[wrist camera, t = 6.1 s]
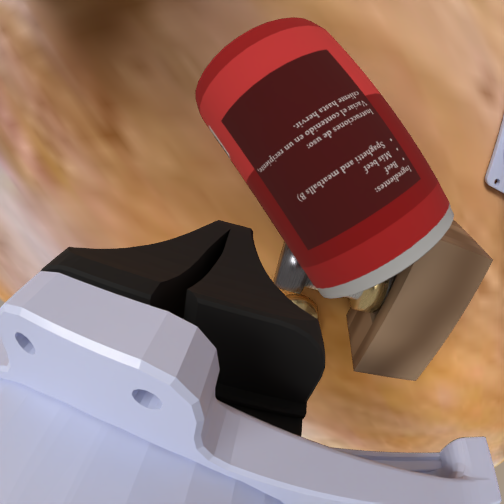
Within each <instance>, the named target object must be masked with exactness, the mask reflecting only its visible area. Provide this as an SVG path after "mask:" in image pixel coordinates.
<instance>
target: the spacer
mask: <svg viewBox="0 0 504 504" xmlns="http://www.w3.org/2000/svg"><path fill="white" fill-rule="evenodd" d="M286 297H288V298H289V299H290V300H291V301H292V302H293V303H295V304H296V305H297V306H298V307H300V308H301V309H303V310H304V311H306V312H307V313H309V314H310V315H312V316H314V317H315V318H317V319H318V310H317V307H316V305H315V303H314V302H313V301H312V300H311V299H310V298H308V297H306V296H303V295H299V294H291V295H286Z"/></svg>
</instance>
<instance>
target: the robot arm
mask: <svg viewBox="0 0 504 504" xmlns="http://www.w3.org/2000/svg"><path fill="white" fill-rule="evenodd" d="M496 179H497V183H496V184H495V183H494V182H495V180H496ZM485 182H486V183H487V184H488V185H489V186H491V187H493V188H495V189H497V190H499V191H500V192H502V193H504V116H503V120H502V124H501V128H500V131H499V135H498V138H497V142H496V145H495V148H494V152H493V155H492V158H491V161H490V164H489V167H488V170H487V173H486V176H485ZM324 369H325V349H324V342H323V338H322V333H321V329H320V325H319V321H318V319H317V318H315V317H314V316H312V315H310V314H309V313H307V312H306V311H304V310H303V309H301V308H300V307H298V306H297V305H296V304H295V303H293V302H292V301H291V300H290V299H289V298H288V297H286V296H285V295H284V294H283V293H282V292H281V291H280V290H279V288H278V287H277V286H276V285H275V284H274V283H273V281H272V280H271V279H270V278H269V276H268V275H267V273H266V271H265V270H264V268H263V266H262V264H261V261H260V259H259V257H258V254H257V251H256V248H255V245H254V240H253V231H252V229H251V228H247V227H243V226H239V225H235V224H232V223H228V222H224V221H220V220H218V221H215V222H213V223H211V224H209V225H206V226H204V227H202V228H200V229H197V230H195V231H193V232H190V233H187V234H185V235H182V236H179V237H177V238H174V239H171V240H167V241H164V242H159V243H155V244H151V245H144V246H137V247H130V248H118V249H89V248H74V247H68V248H67V249H66V250H65V251H63V252H62V253H61V254H60V255H58V256H57V257H56V258H55V259H53V260H52V261H51V262H50V263H49V264H47V265H46V266H45V267H44V268H43V269H42V270H41V271H40V272H39V273H38V274H36V275H35V276H34V277H33V278H32V279H31V280H30V281H28V282H27V283H26V284H25V285H24V286H23V287H22V288H21V289H19V290H18V291H17V292H16V293H15V294H14V295H13V296H12V297H11V298H10V299H9V300H7V301H6V302H5V303H4V304H3V306H2V307H1V308H0V504H499V503H500V502H501V495H500V490H499V486H498V482H497V478H496V474H495V469H494V466H493V462H492V458H491V454H490V451H489V447H488V444H487V441H486V437H483V436H482V437H462V438H458V439H456V440H453V441H452V442H450V443H449V444H447V445H446V446H445V447H444V448H443V449H442V450H441V452H436V453H401V452H377V451H362V450H351V449H341V448H332V447H328V446H325V445H322V444H319V443H317V442H314V441H311V440H308V439H306V438H303V437H301V432H302V419H304V417H305V415H306V408H307V400H308V399H309V397H310V396H311V394H312V392H313V391H314V389H315V387H316V386H317V384H318V382H319V381H320V379H321V377H322V374H323V371H324Z"/></svg>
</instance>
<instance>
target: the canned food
mask: <svg viewBox="0 0 504 504" xmlns="http://www.w3.org/2000/svg"><path fill="white" fill-rule="evenodd" d="M196 102H197V105H198V108H199V112H200V114H201V117H202V119H203V120H204V122H205V123H206V125H207V126H208V127H209V129H210V130H211V132H212V133H213V135H214V136H215V138H216V139H217V140H218V142H219V143H220V145H221V146H222V148H223V149H224V151H225V152H226V154H227V155H228V157H229V158H230V159H231V161H232V162H233V164H234V165H235V167H236V168H237V170H238V171H239V173H240V174H241V176H242V177H243V179H244V180H245V182H246V183H247V185H248V186H249V188H250V189H251V191H252V192H253V194H254V195H255V197H256V198H257V200H258V201H259V203H260V204H261V206H262V207H263V209H264V210H265V212H266V213H267V215H268V216H269V218H270V219H271V221H272V222H273V224H274V226H275V227H276V229H277V230H278V232H279V233H280V235H281V236H282V238H283V239H284V241H285V243H286V244H287V246H288V247H289V249H290V250H291V252H292V253H293V255H294V257H295V258H296V260H297V261H298V263H299V264H300V266H301V267H302V269H303V270H304V271H305V273H306V274H307V276H308V278H309V279H310V281H311V282H312V284H313V285H314V286H315V287H316V288H317V289H318V291H319V292H320V294H321V295H322V296H323V297H325V298H341V297H345V296H349V295H353V294H356V293H359V292H362V291H364V290H367V289H370V288H372V287H374V286H376V285H378V284H380V283H382V282H384V281H386V280H388V279H390V278H391V277H393V276H395V275H397V274H398V273H400V272H402V271H403V270H405V269H406V268H408V267H409V266H410V265H412V264H413V263H415V262H416V261H418V260H419V259H420V258H421V257H422V256H424V255H425V254H426V253H427V252H428V251H430V250H431V249H432V248H433V247H434V246H435V245H436V244H437V243H438V242H439V241H440V239H441V238H442V237H443V236H444V234H445V233H446V232H447V230H448V229H449V228H450V226H451V224H452V221H453V217H454V214H453V212H452V210H451V207H450V203H449V201H448V199H447V197H446V195H445V194H444V192H443V190H442V188H441V186H440V184H439V182H438V180H437V178H436V176H435V175H434V173H433V171H432V170H431V168H430V166H429V164H428V163H427V161H426V160H425V158H424V156H423V155H422V153H421V151H420V150H419V148H418V147H417V145H416V144H415V142H414V141H413V139H412V137H411V136H410V134H409V133H408V131H407V130H406V128H405V127H404V126H403V124H402V123H401V121H400V120H399V118H398V117H397V116H396V114H395V113H394V111H393V110H392V109H391V107H390V106H389V104H388V103H387V102H386V100H385V99H384V98H383V96H382V95H381V94H380V92H379V91H378V90H377V89H376V87H375V86H374V85H373V83H372V82H371V81H370V80H369V78H368V77H367V76H366V75H365V74H364V72H363V71H362V70H361V69H360V68H359V66H358V65H357V64H356V63H355V62H354V60H353V59H352V58H351V57H350V56H349V55H348V54H347V52H346V51H345V50H344V49H343V48H342V47H341V46H340V45H339V44H338V42H337V41H336V40H335V39H334V38H333V37H332V36H331V35H330V34H329V33H328V32H327V31H326V30H325V29H323V28H322V27H320V26H318V25H317V24H315V23H313V22H311V21H309V20H306V19H303V18H284V19H278V20H274V21H271V22H267V23H264V24H262V25H260V26H257V27H255V28H253V29H251V30H249V31H247V32H246V33H244V34H242V35H240V36H239V37H237V38H236V39H235V40H233V41H232V42H231V43H229V44H228V45H227V46H226V47H224V48H223V49H222V50H221V51H220V52H219V53H218V54H217V55H216V56H215V57H214V58H213V59H212V61H211V62H210V63H209V65H208V66H207V67H206V69H205V70H204V72H203V74H202V76H201V78H200V80H199V81H198V85H197V88H196Z"/></svg>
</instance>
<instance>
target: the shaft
mask: <svg viewBox="0 0 504 504" xmlns="http://www.w3.org/2000/svg"><path fill="white" fill-rule="evenodd" d="M396 277H397V275H395V276H393V277H391V278H390V279H388V280H386V281H384V282H382V283H380V284H378V285H376V286H374V287H372V288H370V289H367V290H364V291H362V292H359V293H356V294H353V295H349V296H345V297H346V298H350V306H351V308H352V309H355V310H359V311H363V312H367V313H374V312H376V311H377V310H378V308H379V307H380V306H382V305H383V303H384V301H385V299H386V297H387V295H388V293H389V291H390V289H391V287H392V285H393V283H394V281H395V279H396ZM274 284H275V285H276V286H277V287H278V288H279V289H282V290H286V291H290V292H294V293H298V294H300V293H301V292H302V290H303V288H304V287H308V288H311V289H315V290H318V289H317V288H316V287H315V286H314V285H313V284H312V282H311V281H310V279H309V278H308V276H307V274H306V273H305V271H304V270H303V269H302V267H301V266H300V264H299V263H298V261H297V260H296V258H295V257H294V255H293V253H292V252H291V250H290V249H289V247H288V246H287V244H286V243H285V241H284V244H283V247H282V250H281V254H280V258H279V261H278V265H277V269H276V273H275V278H274Z"/></svg>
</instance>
